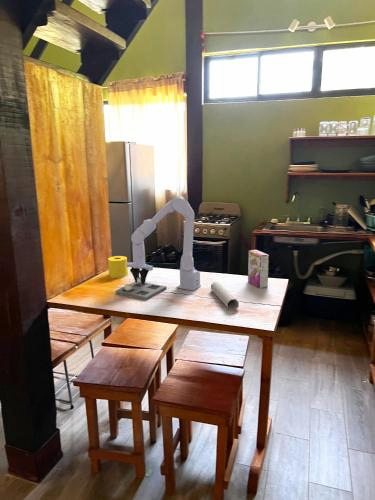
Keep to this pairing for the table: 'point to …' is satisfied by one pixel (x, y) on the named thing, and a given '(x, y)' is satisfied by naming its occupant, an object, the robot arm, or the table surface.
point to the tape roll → (117, 266)
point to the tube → (225, 296)
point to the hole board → (142, 291)
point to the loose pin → (139, 282)
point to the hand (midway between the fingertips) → (140, 282)
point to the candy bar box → (258, 268)
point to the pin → (128, 288)
